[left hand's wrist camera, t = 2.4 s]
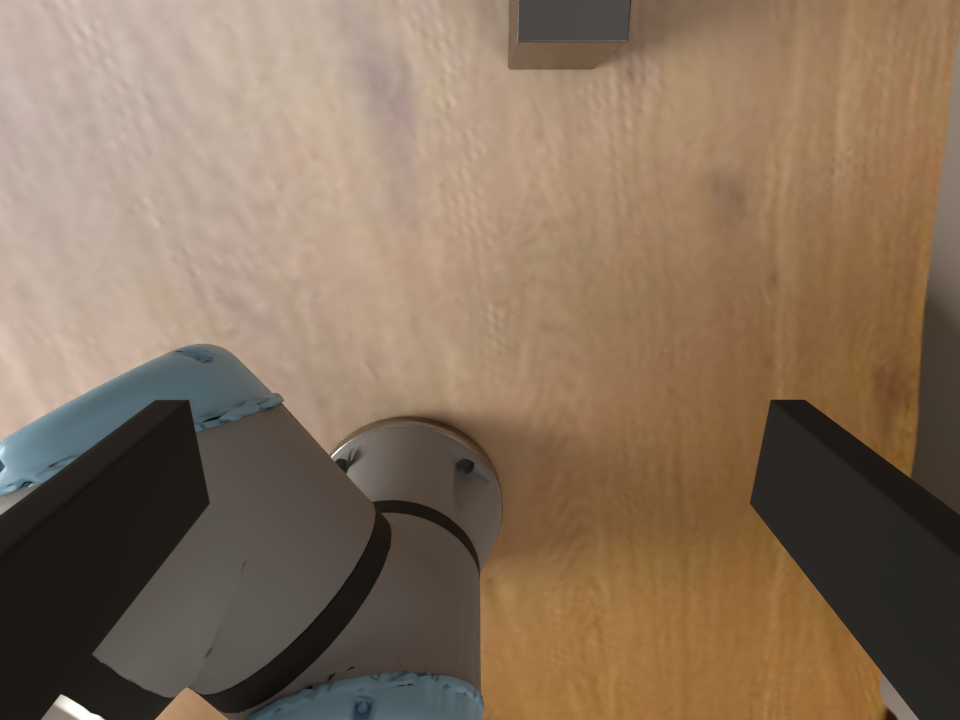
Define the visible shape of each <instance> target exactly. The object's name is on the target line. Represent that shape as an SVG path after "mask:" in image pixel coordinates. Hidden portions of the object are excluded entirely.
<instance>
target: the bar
mask: <svg viewBox="0 0 960 720" xmlns="http://www.w3.org/2000/svg"><path fill="white" fill-rule="evenodd" d="M630 9H631V0H509V62H508V68H509V69H593V68H595V67H596V66H597V65H599V64H600V63H601V62H602V61H604V60H605V59H606V58H607V57H609V56H610V55H611V54H612V53H614V52H615V51H616V50H617V49H619V48H620V47H621V46H623V45H624V44H625V43H626V42H627V41H628V33H629V21H630Z"/></svg>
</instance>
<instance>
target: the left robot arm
mask: <svg viewBox="0 0 960 720" xmlns="http://www.w3.org/2000/svg"><path fill="white" fill-rule="evenodd" d="M283 401H284V399H283V398H282V396H281V395H280V394H276V393H272V392H271V391H270V390H269V389H268V388H267V387H266V386H265V385H264V384H263V383H262V382H261V381H260V380H259V379H258V378H257V377H256V376H255V375H254V374H253V373H252V372H251V371H250V370H249V369H248V368H247V367H246V366H245V365H244V364H243V363H242V362H241V361H240V360H239V359H238V358H237V357H236V356H234V355H233V354H232V353H231V352H229V351H227V350H226V349H224V348H222V347H219V346H215V345H210V344H195V345H190V346H185V347H182V348H179V349H176V350H174V351H171V352H169V353H167V354H164V355H162V356H160V357H158V358H156V359H153V360H151V361H149V362H147V363H145V364H143V365H141V366H138V367H136V368H134V369H132V370H130V371H128V372H126V373H124V374H122V375H120V376H118V377H116V378H114V379H112V380H110V381H108V382H106V383H104V384H102V385H100V386H98V387H96V388H94V389H93V390H91V391H89V392H87V393H85V394H83V395H81V396H79V397H77V398H75V399H74V400H72V401H70V402H68V403H66V404H64V405H62V406H61V407H59V408H57V409H55V410H53V411H51V412H50V413H48V414H46V415H44V416H42V417H41V418H39V419H37V420H35V421H33V422H32V423H30V424H28V425H26V426H25V427H23V428H21V429H20V430H18V431H16V432H14V433H13V434H11V435H9V436H8V437H6V438H4V440H3V441H2V442H0V720H155V719H156V718H157V717H158V716H159V714H160V713H161V712H162V711H163V710H164V709H165V708H166V707H167V706H168V705H169V704H170V703H171V701H172V700H173V699H174V698H175V697H176V696H177V695H178V694H179V693H180V692H181V691H182V690H183V689H184V688H186V687H188V688H190V689H191V690H193V691H194V692H195V693H197V694H199V695H200V696H201V697H202V698H203V699H205V700H206V701H207V702H208V703H210V704H211V705H212V706H213V707H214V708H216V709H217V710H218V711H219V712H220V713H221V714H222V715H224V716H225V717H226V718H227V719H228V720H481V718H482V716H483V712H484V702H483V699H482V698H483V696H482V695H481V671H480V573H481V570H482V568H483V566H484V564H485V562H486V560H487V558H488V556H489V554H490V552H491V549H492V547H493V545H494V543H495V541H496V538H497V536H498V533H499V529H500V525H501V520H502V492H501V486H500V481H499V478H498V475H497V473H496V470H495V468H494V466H493V464H492V462H491V461H490V459H489V458H488V456H487V455H486V454H485V453H484V451H483V450H482V449H481V448H480V447H479V446H478V445H477V444H476V443H475V442H474V441H472V440H471V439H470V438H469V437H467V436H466V435H464V434H463V433H461V432H460V431H458V430H456V429H454V428H452V427H450V426H447V425H445V424H442V423H439V422H436V421H432V420H427V419H421V418H410V417H403V418H392V419H386V420H381V421H377V422H374V423H371V424H369V425H366V426H364V427H362V428H360V429H358V430H356V431H355V432H353V433H352V434H350V435H349V436H347V437H346V438H345V439H344V440H343V441H342V442H340V443H339V445H338V446H337V447H336V448H335V449H334V450H333V452H332V453H331V454H330V456H329V455H328V454H327V453H326V451H325V450H324V449H323V448H322V447H321V446H320V445H319V444H318V443H317V442H316V440H315V439H314V438H313V437H312V436H311V435H310V434H309V433H308V432H307V430H306V429H305V428H304V427H303V426H302V425H301V424H300V423H299V422H298V420H297V419H296V418H295V417H294V416H293V415H292V414H291V413H290V412H289V411H288V409H287V408H286V407H285V406H284V405H283V404H282V403H281V402H283ZM750 504H751V505H752V507H753V508H754V509H755V510H756V512H757V513H758V514H759V516H760V517H761V518H762V519H763V521H764V522H765V523H766V525H767V526H768V527H769V528H770V530H771V531H772V532H773V533H774V535H775V536H776V537H777V539H778V540H779V541H780V542H781V544H782V545H783V546H784V548H785V549H786V550H787V551H788V553H789V554H790V555H791V557H792V558H793V559H794V560H795V562H796V563H797V564H798V565H799V567H800V568H801V569H802V571H803V572H804V573H805V574H806V576H807V577H808V578H809V580H810V581H811V582H812V583H813V585H814V586H815V587H816V588H817V590H818V591H819V592H820V594H821V595H822V596H823V597H824V599H825V600H826V601H827V603H828V604H829V605H830V606H831V608H832V609H833V610H834V611H835V613H836V614H837V615H838V617H839V618H840V619H841V620H842V622H843V623H844V624H845V626H846V627H847V628H848V629H849V631H850V632H851V633H852V635H853V636H854V637H855V638H856V640H857V641H858V642H859V643H860V645H861V646H862V647H863V649H864V650H865V651H866V652H867V654H868V655H869V656H870V658H871V659H872V660H873V661H874V663H875V664H876V665H877V666H878V668H879V669H880V670H881V672H882V673H883V674H884V675H885V677H886V678H887V679H888V681H889V682H890V683H891V684H892V686H893V687H894V688H895V689H896V691H897V692H898V693H899V695H900V696H901V697H902V698H903V700H904V701H905V702H906V704H907V705H908V706H909V707H910V709H911V710H912V711H913V712H914V714H915V715H916V716H917V718H918V719H919V720H960V515H959V514H958V513H956V512H955V511H953V510H952V509H951V508H949V507H948V506H947V505H945V504H944V503H943V502H941V501H940V500H939V499H937V498H936V497H935V496H933V495H932V494H931V493H929V492H928V491H927V490H925V489H924V488H923V487H921V486H920V485H919V484H917V483H916V482H914V481H913V480H912V479H910V478H909V477H908V476H906V475H905V474H904V473H902V472H901V471H900V470H898V469H897V468H896V467H894V466H893V465H892V464H890V463H889V462H888V461H886V460H885V459H884V458H882V457H881V456H880V455H878V454H877V453H876V452H874V451H873V450H872V449H870V448H869V447H867V446H866V445H865V444H863V443H862V442H861V441H859V440H858V439H857V438H855V437H854V436H853V435H851V434H850V433H849V432H847V431H846V430H845V429H843V428H842V427H841V426H839V425H838V424H837V423H835V422H834V421H833V420H831V419H830V418H828V417H827V416H826V415H824V414H823V413H822V412H820V411H819V410H818V409H816V408H815V407H814V406H812V405H811V404H810V403H808V402H807V401H806V400H771V402H770V406H769V411H768V416H767V421H766V426H765V431H764V436H763V441H762V446H761V451H760V456H759V461H758V466H757V471H756V476H755V481H754V486H753V491H752V496H751V501H750Z"/></svg>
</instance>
